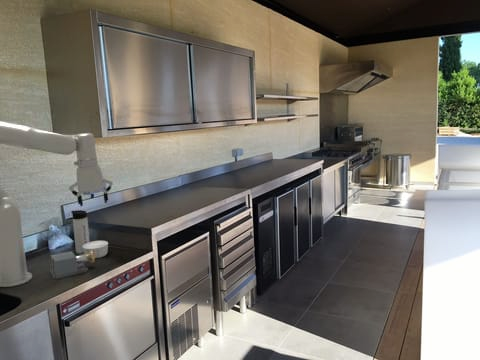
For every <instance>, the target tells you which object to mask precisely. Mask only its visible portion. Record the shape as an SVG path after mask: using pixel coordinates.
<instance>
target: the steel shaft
mask: <svg viewBox="0 0 480 360" xmlns="http://www.w3.org/2000/svg"><path fill="white" fill-rule="evenodd" d="M75 256H76V258H77V264H80V263H85V262H90V264H91V263H94V262H95V260H96V258H95V257H94V253H93V250H91V251H89V253H88V254H78V255H75Z"/></svg>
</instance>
